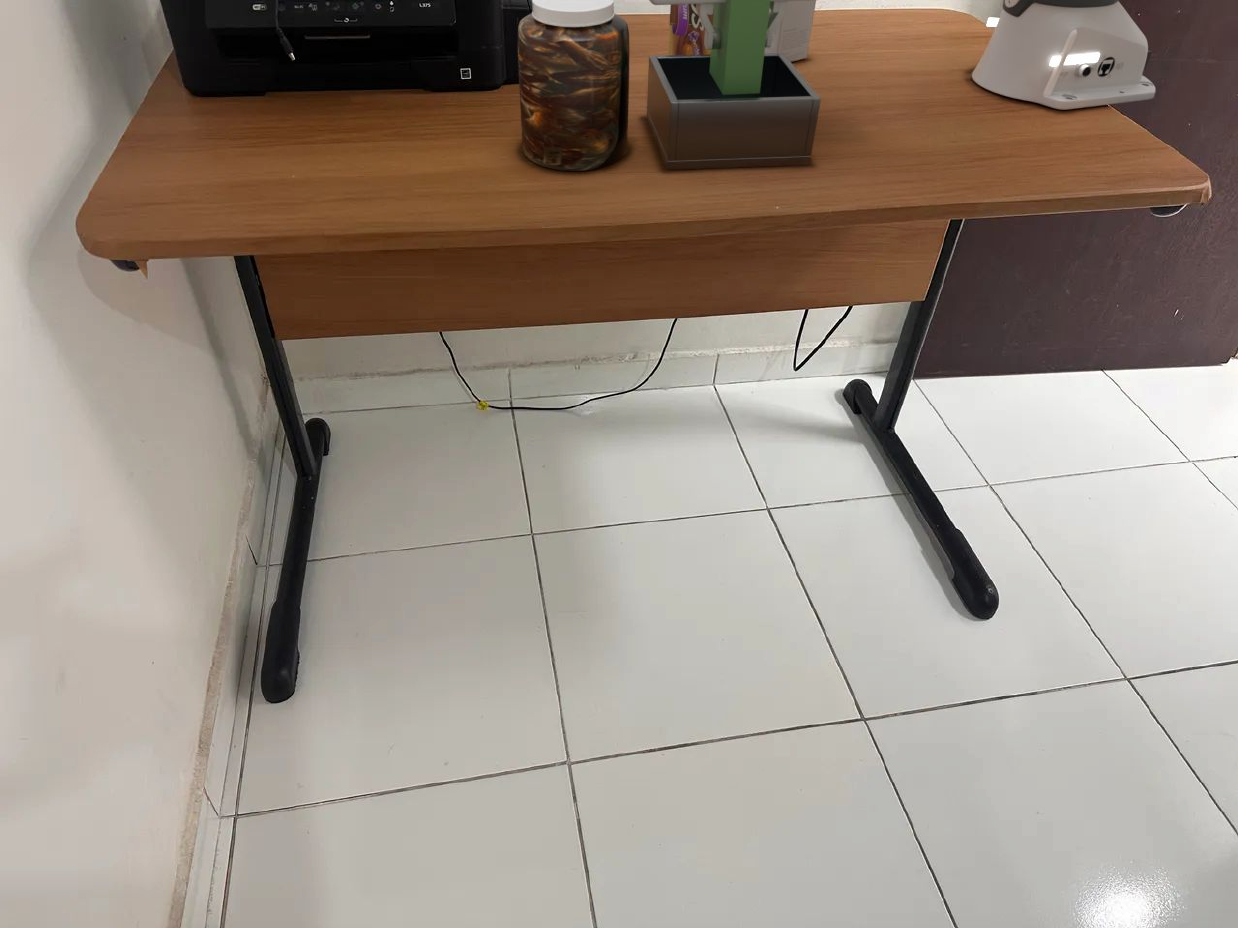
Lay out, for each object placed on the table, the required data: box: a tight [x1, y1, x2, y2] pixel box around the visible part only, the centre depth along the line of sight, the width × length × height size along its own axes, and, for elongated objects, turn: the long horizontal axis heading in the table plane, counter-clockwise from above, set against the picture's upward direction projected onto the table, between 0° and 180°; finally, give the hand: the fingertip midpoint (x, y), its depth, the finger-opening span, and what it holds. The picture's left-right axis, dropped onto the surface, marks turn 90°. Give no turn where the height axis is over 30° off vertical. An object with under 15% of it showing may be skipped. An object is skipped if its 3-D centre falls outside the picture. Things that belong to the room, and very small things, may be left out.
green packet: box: [709, 0, 770, 95], centre depth 90 cm, size 4×7×10 cm, turn 7°
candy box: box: [667, 3, 715, 55], centre depth 107 cm, size 9×4×15 cm, turn 39°
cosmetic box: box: [764, 0, 817, 63], centre depth 115 cm, size 6×4×12 cm
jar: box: [517, 0, 631, 172], centre depth 90 cm, size 12×12×15 cm
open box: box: [646, 53, 822, 171], centre depth 95 cm, size 16×15×7 cm
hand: (736, 47), depth 91 cm, fingers closed on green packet, 4 cm apart
